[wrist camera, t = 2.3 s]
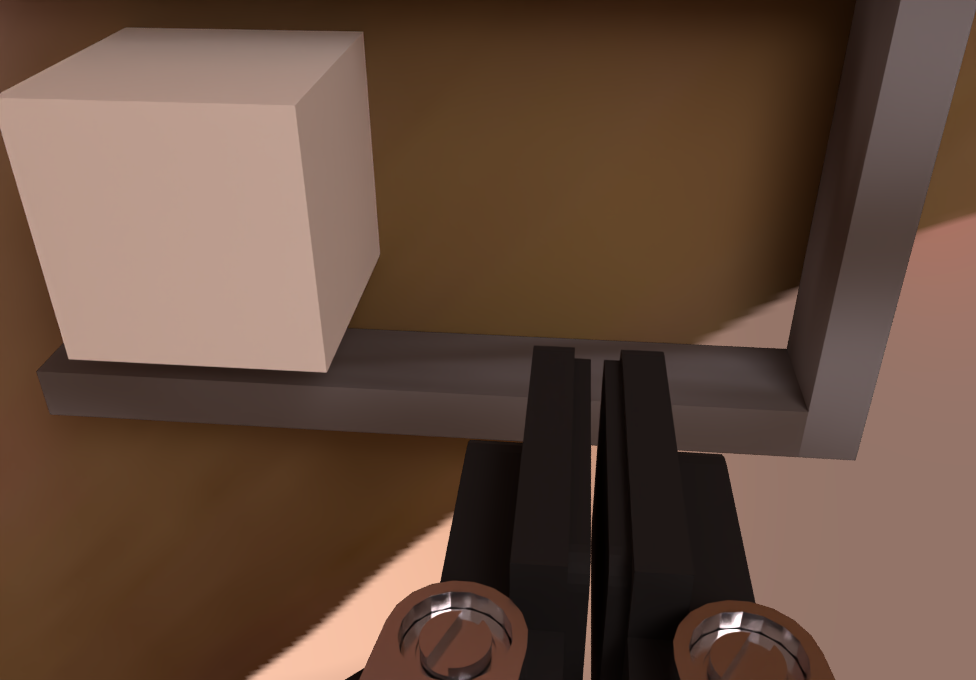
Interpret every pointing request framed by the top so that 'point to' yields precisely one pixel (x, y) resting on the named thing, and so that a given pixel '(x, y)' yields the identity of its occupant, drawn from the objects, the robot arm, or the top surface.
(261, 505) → the top surface
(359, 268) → the blank block
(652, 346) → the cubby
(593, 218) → the top surface
